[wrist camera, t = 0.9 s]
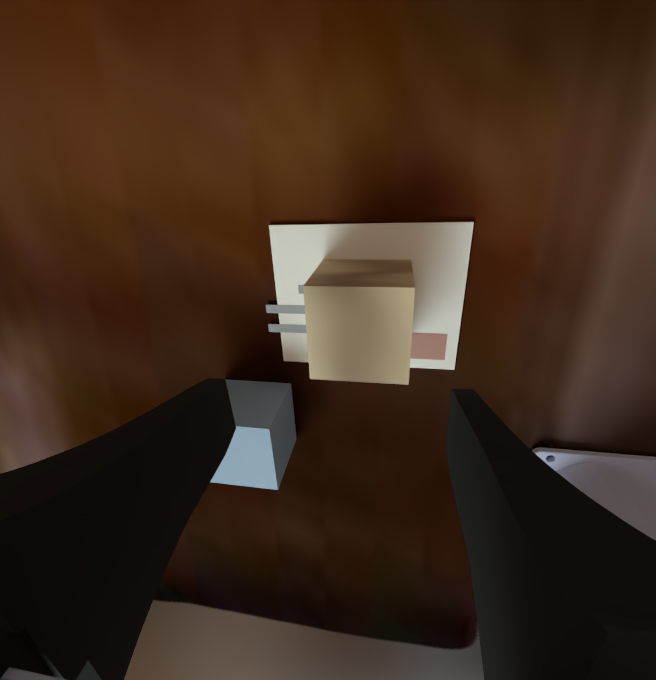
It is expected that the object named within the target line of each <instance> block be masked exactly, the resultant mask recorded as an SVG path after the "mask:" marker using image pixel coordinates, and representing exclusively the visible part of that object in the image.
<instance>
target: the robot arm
mask: <svg viewBox="0 0 656 680" xmlns="http://www.w3.org/2000/svg"><path fill="white" fill-rule="evenodd" d="M235 430H236V425H235V420H234V416H233V411H232V407H231V402H230V398H229V393H228V389H227V384H226V379H212V378H208V379H206V380H204V381H202V382H200V383H198V384H196V385H194V386H192V387H191V388H189V389H187V390H185V391H184V392H182V393H180V394H178V395H177V396H175V397H173V398H171V399H170V400H168V401H166V402H165V403H163V404H161V405H159V406H158V407H156V408H154V409H152V410H151V411H149V412H147V413H145V414H143V415H141V416H139V417H137V418H136V419H134V420H132V421H130V422H128V423H126V424H124V425H123V426H121V427H119V428H117V429H115V430H113V431H111V432H108V433H106V434H104V435H102V436H100V437H98V438H95V439H93V440H91V441H89V442H87V443H84V444H82V445H80V446H77V447H75V448H72V449H70V450H67V451H64V452H62V453H59V454H57V455H54V456H51V457H49V458H46V459H44V460H41V461H38V462H36V463H33V464H30V465H27V466H24V467H21V468H18V469H15V470H12V471H9V472H6V473H2V474H0V680H124V677H125V675H126V672H127V669H128V666H129V663H130V660H131V657H132V655H133V652H134V649H135V646H136V643H137V640H138V637H139V635H140V632H141V629H142V627H143V624H144V622H145V619H146V617H147V614H148V611H149V609H150V606H151V604H152V601H153V599H154V596H155V593H156V591H157V589H158V586H159V584H160V582H161V579H162V577H163V574H164V572H165V570H166V567H167V565H168V562H169V560H170V558H171V556H172V553H173V551H174V549H175V547H176V545H177V542H178V540H179V538H180V536H181V534H182V531H183V529H184V527H185V525H186V524H187V522H188V520H189V518H190V516H191V514H192V512H193V511H194V509H195V507H196V505H197V504H198V502H199V500H200V499H201V497H202V495H203V493H204V492H205V490H206V488H207V486H208V485H209V483H210V481H211V480H212V478H213V476H214V474H215V473H216V471H217V469H218V467H219V465H220V464H221V462H222V460H223V458H224V456H225V455H226V452H227V450H228V448H229V445H230V443H231V440H232V438H233V435H234V432H235ZM446 446H447V456H448V465H449V473H450V478H451V482H452V487H453V491H454V496H455V500H456V504H457V508H458V513H459V517H460V521H461V525H462V530H463V534H464V538H465V542H466V547H467V552H468V557H469V562H470V569H471V576H472V583H473V591H474V598H475V605H476V613H477V621H478V629H479V637H480V645H481V653H482V663H483V671H484V680H656V457H651V456H639V455H627V454H615V453H603V452H591V451H579V450H567V449H555V448H543V447H539V448H535V449H533V450H531V449H530V448H528V447H527V446H526V445H525V444H524V443H523V442H522V441H521V440H520V439H519V438H518V437H517V436H516V435H515V434H514V433H513V432H512V431H511V430H510V429H509V428H508V427H507V426H506V425H505V424H504V423H503V422H502V420H501V419H500V418H499V417H498V416H497V415H496V414H495V413H494V412H493V411H492V410H491V408H490V407H489V406H488V405H487V404H486V403H485V402H484V400H483V399H482V398H481V397H480V396H479V395H478V394H477V393H476V392H475V391H474V390H473V389H452V391H451V401H450V410H449V420H448V429H447V439H446ZM550 455H552V456H551V457H547V456H550Z"/></svg>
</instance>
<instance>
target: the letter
mask: <svg viewBox="0 0 656 680" xmlns="http://www.w3.org/2000/svg"><path fill="white" fill-rule="evenodd" d="M473 226H474V222H422V223H358V224H295V225H269V230H270V240H271V249H272V258H273V267H274V276H275V286H276V295H277V304H278V305H266V311H267V313H279V322H280V324H268V327H269V332H281V341H282V350H283V359H284V361H294V362H309V359H308V346H307V332H306V319H305V305H304V292H303V286H304V284H305V283H306V282H307V280H308V279H309V278H310V276H311V275H312V274H313V272H314V271H315V270H316V268H317V267H318V265H319V264H320V263H321V261H322V260H323V259H373V260H411V261H412V268H413V276H414V283H415V297H414V312H413V326H412V341H411V356H410V367H412V368H431V369H451V370H454V369H455V361H456V354H457V346H458V339H459V331H460V324H461V316H462V309H463V301H464V293H465V286H466V278H467V271H468V263H469V256H470V248H471V241H472V233H473Z"/></svg>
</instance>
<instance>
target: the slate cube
mask: <svg viewBox="0 0 656 680" xmlns="http://www.w3.org/2000/svg"><path fill="white" fill-rule="evenodd" d="M226 384H227V389H228V393H229V398H230V402H231V407H232V411H233V416H234V420H235V425H236V430H235V432H234V435H233V438H232V440H231V443H230V445H229V448H228V450H227V452H226V455H225V456H224V458H223V460H222V462H221V464H220V465H219V467H218V469H217V471H216V473H215V474H214V476H213V478H212V480H211V481H210V482H214V483H223V484H231V485H240V486H249V487H258V488H266V489H275V490H278V488H279V485H280V483H281V480H282V477H283V474H284V472H285V469H286V466H287V463H288V461H289V458H290V455H291V452H292V450H293V447H294V444H295V441H296V428H295V418H294V408H293V398H292V388H291V383H276V382H259V381H243V380H227V379H226Z"/></svg>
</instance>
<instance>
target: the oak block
mask: <svg viewBox="0 0 656 680" xmlns="http://www.w3.org/2000/svg"><path fill="white" fill-rule="evenodd" d="M303 292H304V305H305V319H306V332H307V346H308V359H309V373H310V379H321V380H338V381H354V382H371V383H388V384H405V385H409V370H410V356H411V341H412V326H413V312H414V297H415V283H414V276H413V268H412V261H411V260H373V259H323V260H322V261H321V263H320V264H319V265H318V267H317V268H316V270H315V271H314V272H313V274H312V275H311V276H310V278H309V279H308V280H307V282H306V283H305V284H304V286H303Z"/></svg>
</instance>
